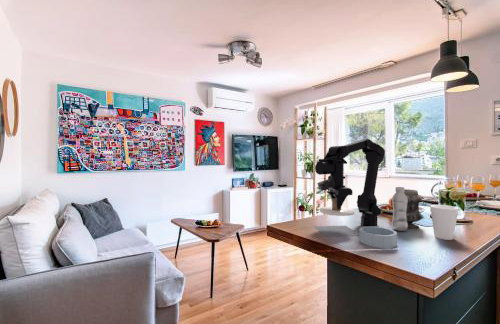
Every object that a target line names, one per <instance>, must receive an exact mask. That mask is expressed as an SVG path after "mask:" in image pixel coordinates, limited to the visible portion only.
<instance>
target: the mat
mask: <svg viewBox="0 0 500 324" xmlns="http://www.w3.org/2000/svg"><path fill="white" fill-rule="evenodd" d="M313 227H314V228H315V229H316V230H317V231H319V232H320V234H321V235H323V236H324V237H325V238H330V237H331V238H332V237H334V238H335V237H338V238H339V237H360V232H359V233H358V232H357V231H356V230H354V229H352V228H351V227H349V226H347V225H323V226H322V225H319V226H318V225H315V226H313Z"/></svg>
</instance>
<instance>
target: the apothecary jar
mask: <svg viewBox="0 0 500 324" xmlns="http://www.w3.org/2000/svg"><path fill="white" fill-rule="evenodd" d="M404 194H405V195H406V196H407V198H408V203H407V211H406V216H407V223H408V228H407V230H418V229H420V226H419V225H418V224H415V222H419V221H420V220H422V219H423V214H422V213H421V211H420V206H419V204H420V203H421V202H422V200H423V197H422V196H421V195H419V192H418V190H416V189H409V188H408V189H405V192H404Z"/></svg>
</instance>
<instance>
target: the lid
mask: <svg viewBox="0 0 500 324" xmlns="http://www.w3.org/2000/svg"><path fill="white" fill-rule="evenodd" d="M319 213H320V214H321V213H322V214H323V215H327V216H328V215H329V216H335V217H336V216H337V217H341V216H342V217H344V216H345V217H347V216H353V215H355V210H354V209H352V208H349V207H343V206H341V208H340V209H337V203H336V198H332V200H331V206H323V207H320V208H319Z"/></svg>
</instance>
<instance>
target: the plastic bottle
mask: <svg viewBox="0 0 500 324" xmlns="http://www.w3.org/2000/svg"><path fill="white" fill-rule="evenodd" d="M394 191H395V193H394V194H393V195H392V197H391V200H392V221H391V228H392V230H394V231H399V232H406V231H407V230H408V229H407V228H408V223H407V216H406V211H407V203H408V198H407V196H406V195H405V194H404V192H405V187H404V186H401V187H400V186H395V190H394Z"/></svg>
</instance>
